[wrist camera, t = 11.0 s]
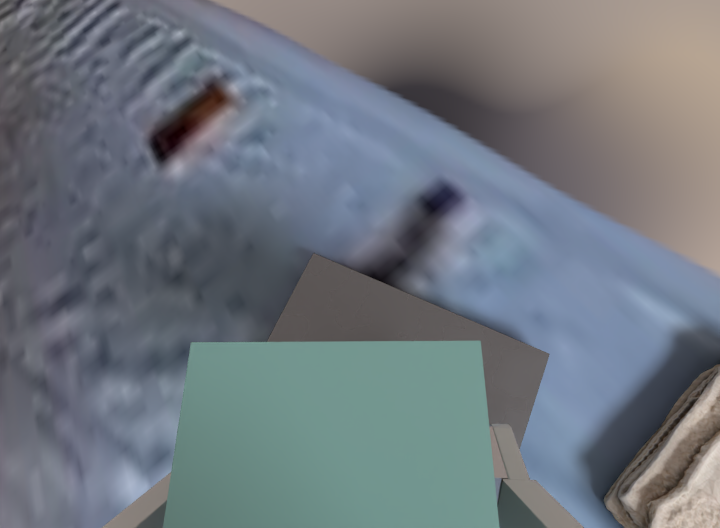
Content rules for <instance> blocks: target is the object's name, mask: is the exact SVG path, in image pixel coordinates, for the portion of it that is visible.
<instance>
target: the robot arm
mask: <svg viewBox="0 0 720 528" xmlns="http://www.w3.org/2000/svg"><path fill="white" fill-rule="evenodd" d="M489 428H490V438H491V448H492V458H493V468H494V478H495V488H496V498H497V508H498V518H499V527H500V528H584V527H583V526H582V525H581V524H580V523H579V522H578V521H577V520H576V519H575V518H574V517H573V516H572V515H571V514H570V513H569V512H567V511H566V510H565V509H564V508H563V507H562V506H561V505H560V504H559V503H558V502H557V501H556V500H555V499H554V498H553V497H552V496H551V495H550V494H549V493H548V492H547V491H546V490H545V489H544V488H543V487H542V486H541V485H540V484H539V483H538V482H537V481H536V480H530V478H529V475H528V473H527V470H526V467H525V464H524V461H523V459H522V456H521V453H520V450H519V448H518V445H517V442H516V439H515V436H514V434H513V431H512V428H511V426H510V425H509V424H490V423H489ZM170 477H171V472H170V473H169V474H168V475H167V476H166V477H164V478H163V479H162V480H161V481H159V482H158V483H157V484H156V485H154V486H153V487H152V488H151V489H149V490H148V491H147V492H146V493H144V494H143V495H142V496H141V497H139V498H138V499H137V500H136V501H134V502H133V503H132V504H131V505H130V506H128V507H127V508H126V509H125V510H123V511H122V512H121V513H120V514H118V515H117V516H116V517H115V518H113V519H112V520H111V521H110V522H108V523H107V524H106V525H105V526H103V527H102V528H163V523H164V517H165V510H166V503H167V497H168V490H169V484H170Z"/></svg>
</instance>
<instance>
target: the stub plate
mask: <svg viewBox="0 0 720 528" xmlns="http://www.w3.org/2000/svg"><path fill="white" fill-rule="evenodd" d="M341 341H481V349H482V359H483V369H484V379H485V389H486V399H487V408H488V418H489V423H490V424H509V425H510V426H511V428H512V431H513V434H514V436H515V439H516V442H517V445H518V448H519V449H520V446H521V443H522V439H523V436H524V433H525V430H526V427H527V424H528V421H529V417H530V414H531V411H532V408H533V405H534V402H535V398H536V395H537V392H538V389H539V386H540V383H541V380H542V376H543V373H544V370H545V367H546V364H547V361H548V357H549V354H548V353H546V352H544V351H541V350H539V349H537V348H534V347H532V346H530V345H527V344H525V343H523V342H520V341H518V340H516V339H513V338H511V337H509V336H506V335H504V334H502V333H499V332H497V331H495V330H492V329H490V328H488V327H485V326H483V325H481V324H478V323H476V322H474V321H471V320H469V319H467V318H464V317H462V316H460V315H457V314H455V313H453V312H450V311H448V310H445V309H443V308H441V307H438V306H436V305H434V304H431V303H429V302H427V301H424V300H422V299H420V298H417V297H415V296H413V295H410V294H408V293H406V292H403V291H401V290H399V289H396V288H394V287H392V286H389V285H387V284H385V283H382V282H380V281H378V280H375V279H373V278H371V277H368V276H366V275H364V274H361V273H359V272H357V271H354V270H352V269H350V268H347V267H345V266H343V265H340V264H338V263H336V262H333V261H331V260H328V259H326V258H324V257H321V256H319V255H317V254H314V253H313V255H312V257H311V259H310V261H309V263H308V264H307V266H306V268H305V270H304V272H303V274H302V276H301V278H300V280H299V282H298V283H297V285H296V287H295V289H294V291H293V293H292V295H291V297H290V299H289V300H288V302H287V304H286V306H285V308H284V310H283V312H282V314H281V316H280V318H279V319H278V321H277V323H276V325H275V327H274V329H273V331H272V333H271V335H270V337H269V338H268V340H267V342H341Z"/></svg>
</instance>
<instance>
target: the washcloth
mask: <svg viewBox="0 0 720 528" xmlns="http://www.w3.org/2000/svg"><path fill="white" fill-rule="evenodd" d="M604 503H605V505H606V508H607V509H608V510H609V511H611V512H612V514H613V516H614V518H615V519H616V520H617V521H618V522H619V523H620V524H622V525H623V526H624V528H720V364H718V365H715V366H714V367H713V368H712V369H709V370H707V371H705V372H703V373H702V374H700V375H699V376H698V378H697V379H696V380H695V381H693V382H692V384H691V385H690V386H689V388H688V389H687V390H686V391H685V392H684V393H683V395H682V396H681V397H680V398H679V399H678V401H677V402H676V403H675V404H674V406H673V408H672V409H671V410H670V412H669V414H668V415H667V417H666V419H665V421H664V422H663V424H662V425H661V427H660V428H659V429H658V430H657V431H656V433H655V434H654V435H653V436H652V437H651V438H650V439H649V440H648V441H647V442H646V444H645V445H644V446H643V447H642V448H641V449H640V450H639V451H638V453H637V454H636V455H635V457H634V459H633V460H632V461H631V462H630V463H629V465H628V466H627V467H626V468H625V469H624V472H623V473H621V475H620V476H619V477H618V479H617V480H616V481H615V483H614V484H613V485H612V486H611V488H610V490H609V492H608V493H607V494H606V496H605V497H604Z"/></svg>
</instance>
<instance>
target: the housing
mask: <svg viewBox="0 0 720 528" xmlns="http://www.w3.org/2000/svg"><path fill="white" fill-rule="evenodd" d="M163 528H499V518H498V508H497V498H496V488H495V478H494V468H493V458H492V448H491V438H490V428H489V418H488V408H487V399H486V389H485V379H484V369H483V359H482V349H481V341H341V342H191V346H190V352H189V359H188V365H187V372H186V379H185V385H184V392H183V398H182V405H181V411H180V418H179V425H178V431H177V438H176V444H175V451H174V457H173V464H172V471H171V477H170V484H169V490H168V497H167V503H166V510H165V517H164V523H163Z"/></svg>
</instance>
